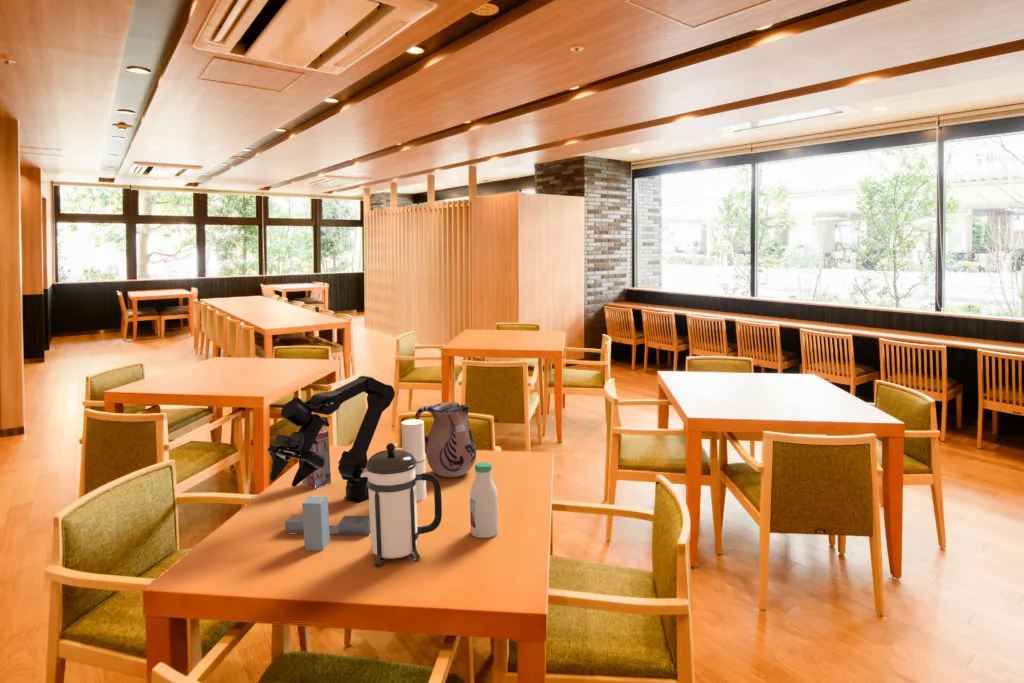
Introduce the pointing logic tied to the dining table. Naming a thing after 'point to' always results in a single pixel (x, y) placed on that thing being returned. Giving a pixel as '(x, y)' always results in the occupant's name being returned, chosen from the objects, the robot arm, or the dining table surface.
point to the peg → (316, 523)
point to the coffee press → (396, 504)
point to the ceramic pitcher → (449, 440)
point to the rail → (346, 526)
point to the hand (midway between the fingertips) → (282, 483)
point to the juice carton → (323, 474)
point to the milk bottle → (483, 503)
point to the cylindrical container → (415, 450)
